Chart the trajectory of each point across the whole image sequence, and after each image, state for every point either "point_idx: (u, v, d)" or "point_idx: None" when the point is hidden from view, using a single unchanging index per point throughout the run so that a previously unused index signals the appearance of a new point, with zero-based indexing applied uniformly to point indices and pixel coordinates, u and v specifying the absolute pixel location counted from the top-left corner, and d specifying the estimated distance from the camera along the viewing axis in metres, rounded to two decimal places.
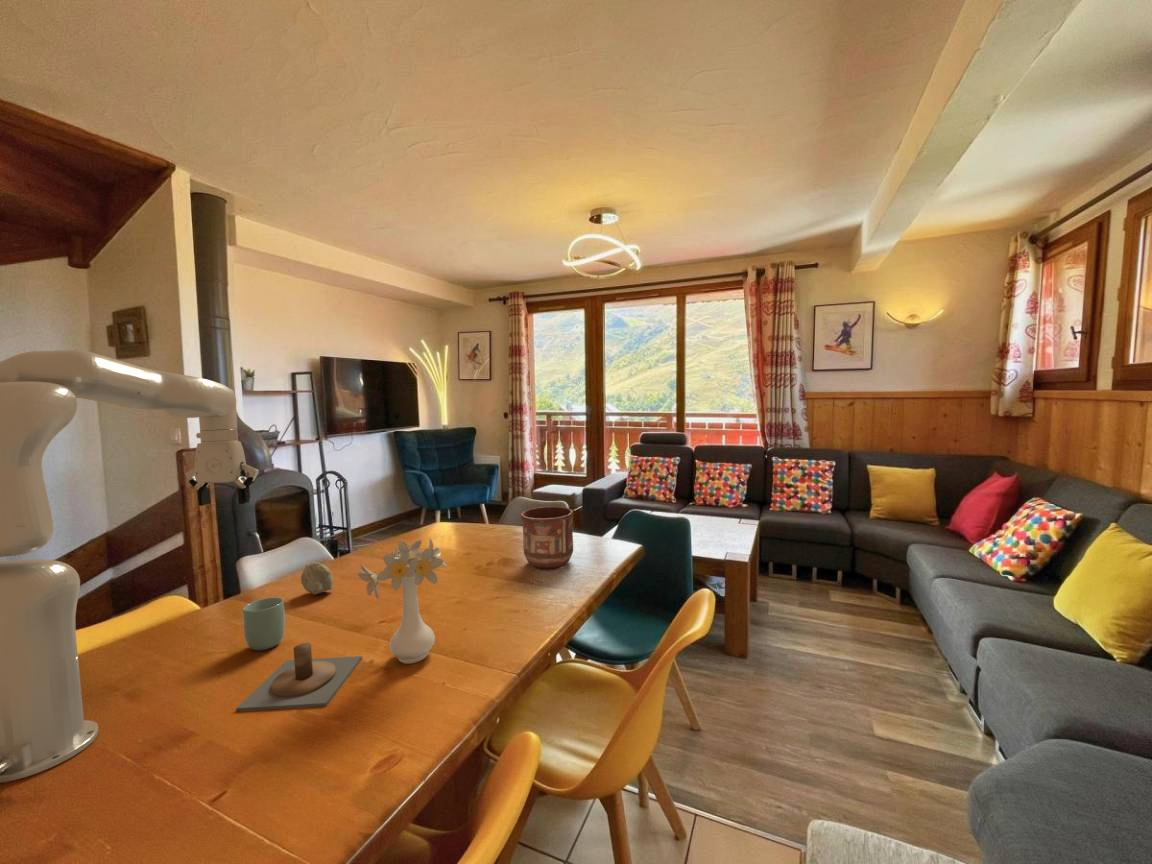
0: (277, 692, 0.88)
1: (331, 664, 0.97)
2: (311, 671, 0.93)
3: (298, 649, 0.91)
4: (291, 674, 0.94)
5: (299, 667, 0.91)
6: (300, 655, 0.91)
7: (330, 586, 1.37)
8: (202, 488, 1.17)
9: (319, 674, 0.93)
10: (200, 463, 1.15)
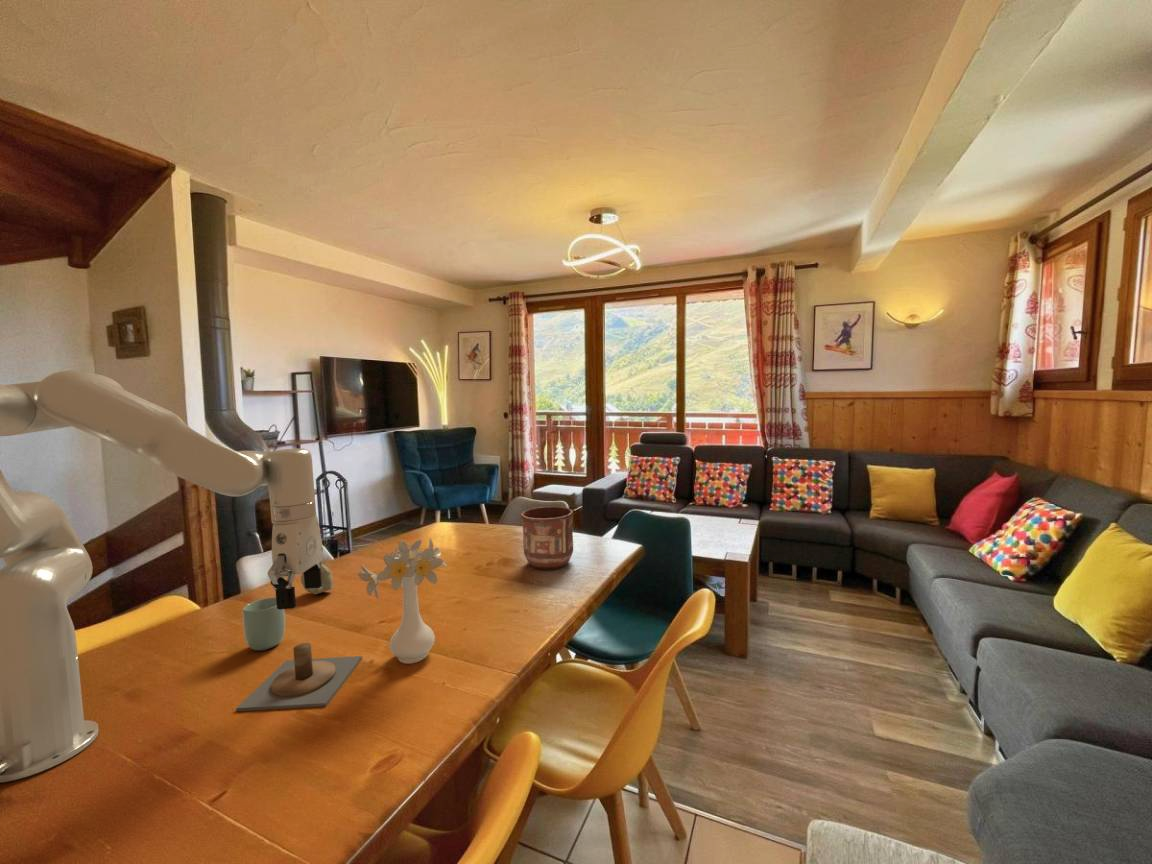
0: (277, 692, 0.88)
1: (331, 664, 0.97)
2: (311, 671, 0.93)
3: (298, 649, 0.91)
4: (291, 674, 0.93)
5: (299, 667, 0.91)
6: (300, 655, 0.91)
7: (330, 586, 1.37)
8: None
9: (319, 674, 0.93)
10: (301, 548, 0.88)
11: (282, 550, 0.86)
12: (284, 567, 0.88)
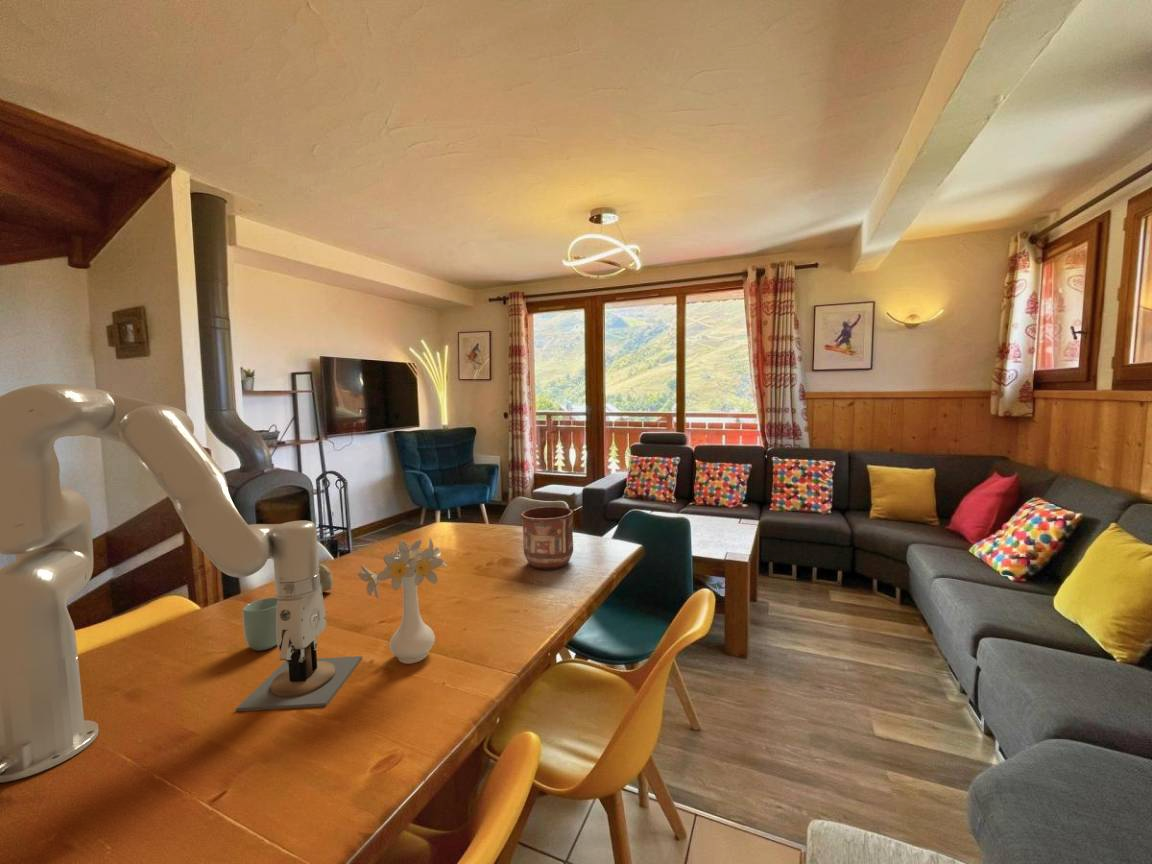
0: (277, 693, 0.88)
1: (330, 664, 0.97)
2: (311, 671, 0.93)
3: None
4: None
5: None
6: None
7: (330, 586, 1.37)
8: None
9: (319, 674, 0.93)
10: (305, 622, 0.89)
11: (286, 626, 0.87)
12: None
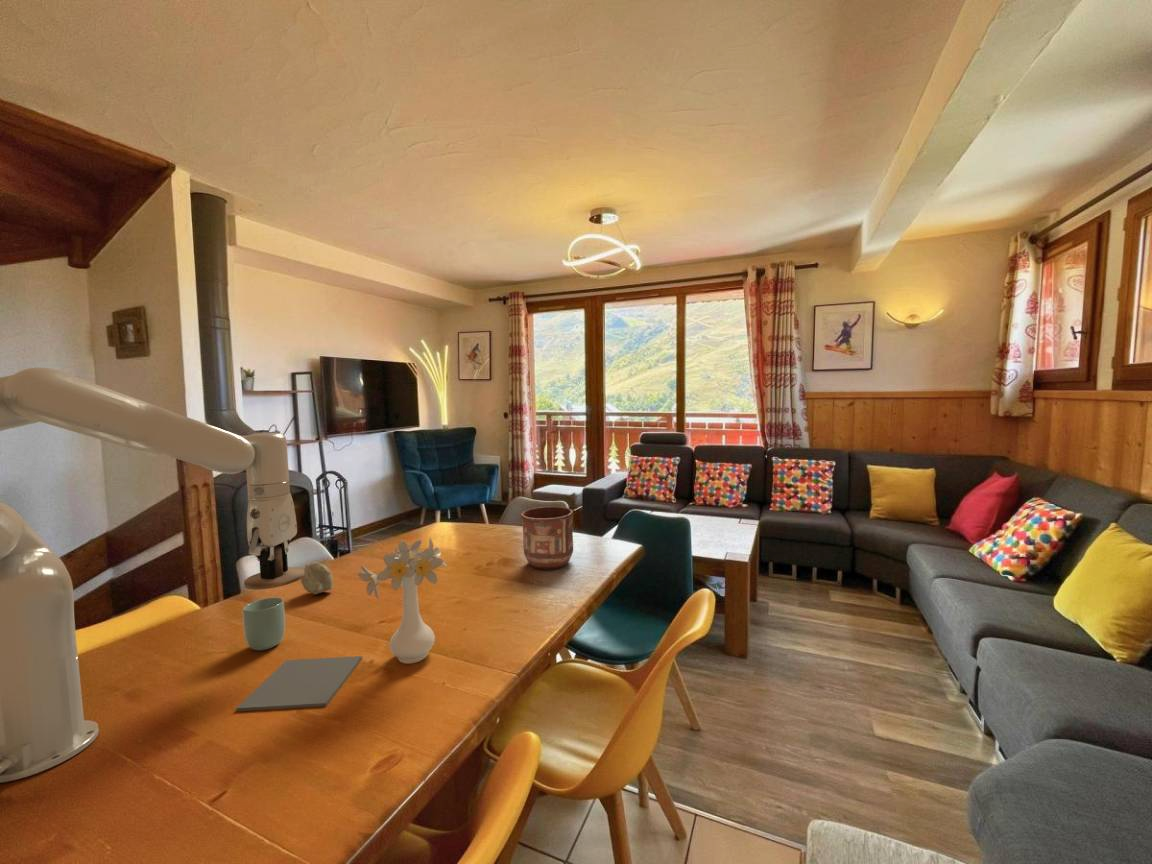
0: (248, 586, 0.96)
1: (301, 569, 1.05)
2: (281, 571, 1.01)
3: None
4: None
5: None
6: None
7: (330, 586, 1.37)
8: None
9: (288, 575, 1.01)
10: (274, 523, 0.97)
11: (255, 524, 0.95)
12: (262, 541, 0.98)
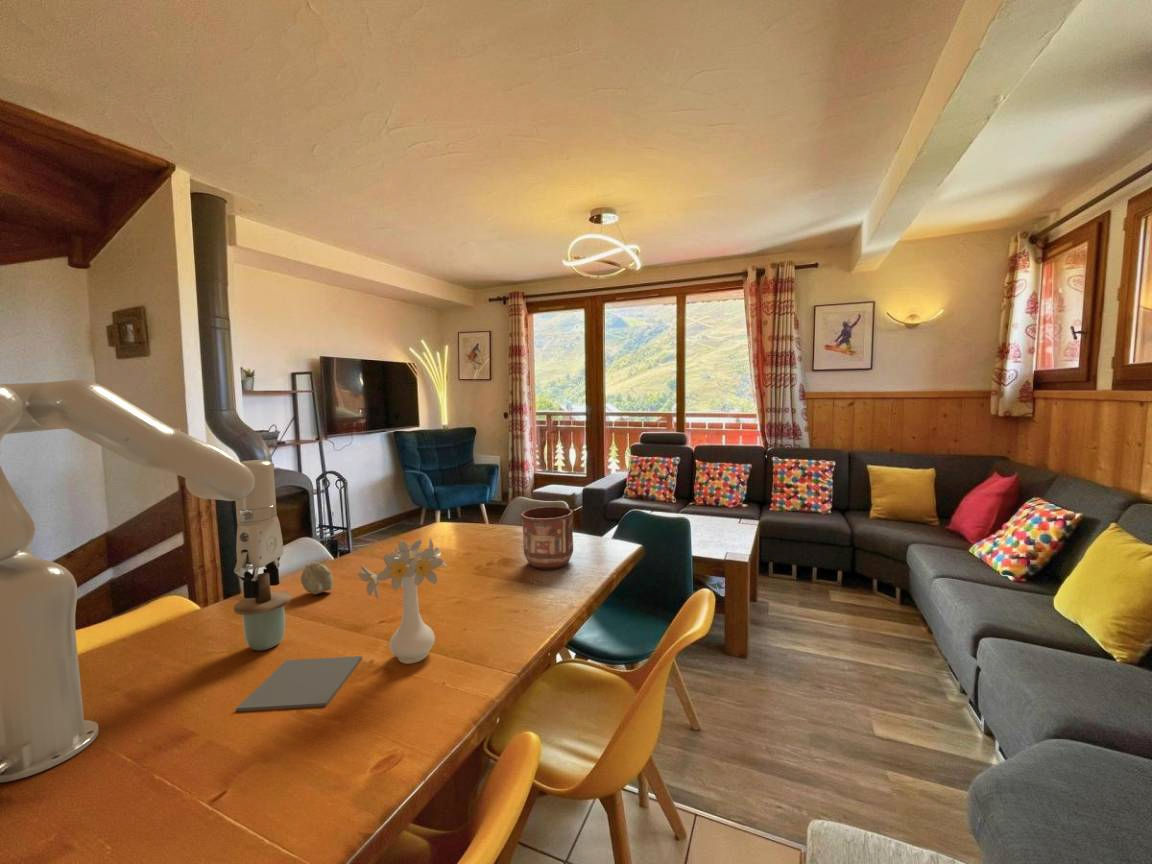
0: (238, 611, 1.02)
1: (288, 593, 1.11)
2: (269, 596, 1.07)
3: (257, 576, 1.06)
4: (252, 599, 1.08)
5: None
6: (259, 581, 1.06)
7: (330, 586, 1.37)
8: None
9: (276, 599, 1.08)
10: (262, 545, 1.04)
11: (245, 547, 1.02)
12: None
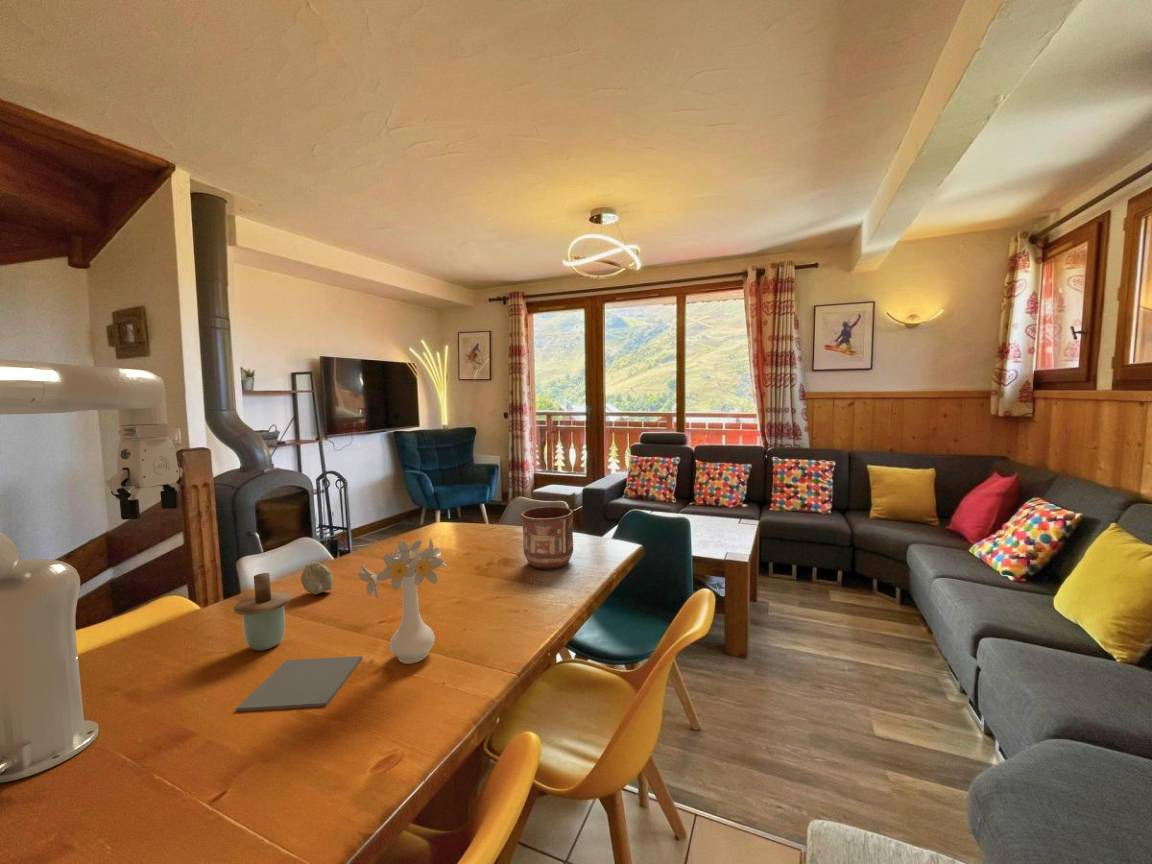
0: (238, 611, 1.02)
1: (288, 593, 1.11)
2: (269, 596, 1.07)
3: (257, 576, 1.06)
4: (252, 599, 1.08)
5: (258, 592, 1.06)
6: (259, 581, 1.06)
7: (330, 586, 1.37)
8: None
9: (276, 599, 1.08)
10: (147, 464, 0.96)
11: (126, 464, 0.94)
12: (131, 482, 0.96)
